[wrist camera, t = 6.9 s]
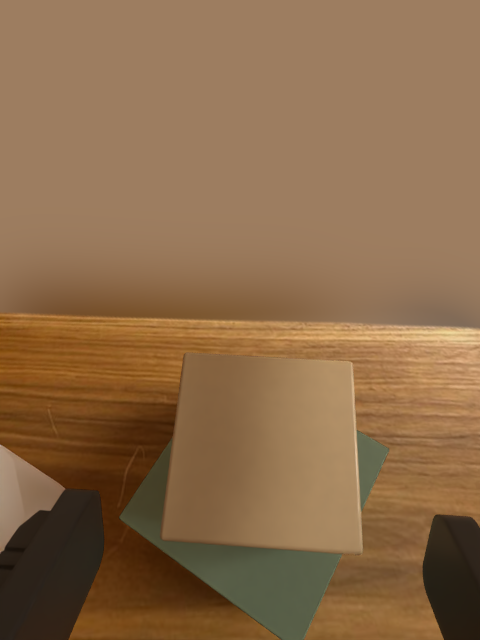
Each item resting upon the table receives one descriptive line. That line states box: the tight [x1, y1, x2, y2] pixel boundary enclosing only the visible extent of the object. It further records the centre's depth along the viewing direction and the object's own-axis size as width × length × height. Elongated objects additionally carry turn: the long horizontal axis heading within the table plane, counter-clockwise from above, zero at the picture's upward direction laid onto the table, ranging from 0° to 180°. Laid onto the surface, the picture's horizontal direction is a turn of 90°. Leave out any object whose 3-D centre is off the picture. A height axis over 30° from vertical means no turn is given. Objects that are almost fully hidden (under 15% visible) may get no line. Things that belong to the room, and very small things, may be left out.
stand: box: [119, 430, 389, 640], centre depth 22 cm, size 9×9×7 cm
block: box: [160, 353, 363, 555], centre depth 15 cm, size 4×4×10 cm
